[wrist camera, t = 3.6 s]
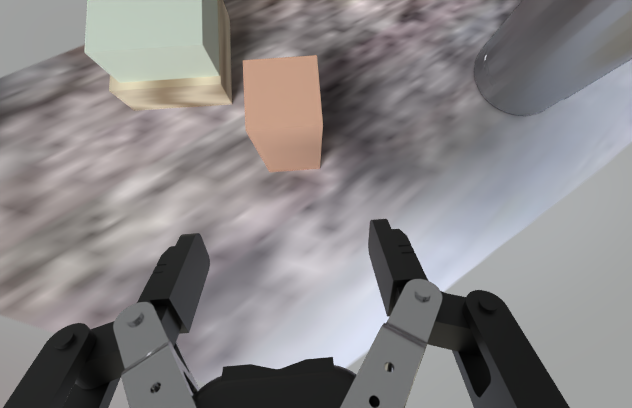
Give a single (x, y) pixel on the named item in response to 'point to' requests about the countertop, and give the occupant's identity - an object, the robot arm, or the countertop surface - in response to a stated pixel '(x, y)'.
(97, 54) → the tower top
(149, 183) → the countertop surface
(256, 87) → the square block
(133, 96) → the tower base
